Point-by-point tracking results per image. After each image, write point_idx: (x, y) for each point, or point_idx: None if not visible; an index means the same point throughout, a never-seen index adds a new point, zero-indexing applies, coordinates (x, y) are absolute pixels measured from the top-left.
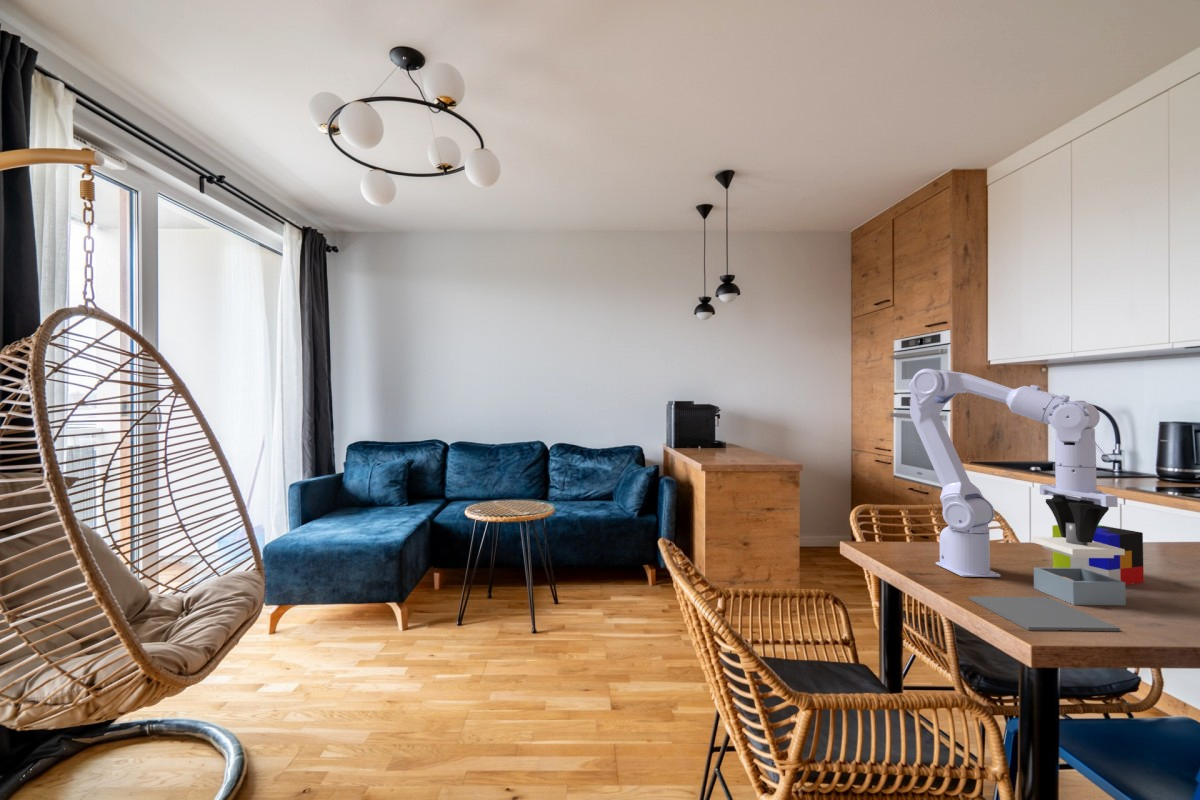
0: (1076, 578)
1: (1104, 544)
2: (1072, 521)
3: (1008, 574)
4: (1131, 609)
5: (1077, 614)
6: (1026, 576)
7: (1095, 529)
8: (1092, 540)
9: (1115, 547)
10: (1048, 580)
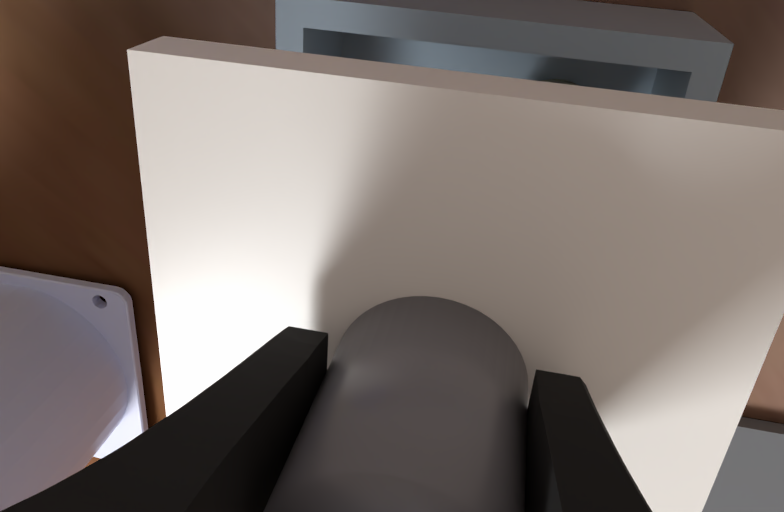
0: (327, 50)
1: (539, 126)
2: (232, 508)
3: (49, 186)
4: (764, 53)
5: (773, 479)
6: (74, 109)
7: (639, 505)
8: (588, 394)
9: (724, 153)
10: None
